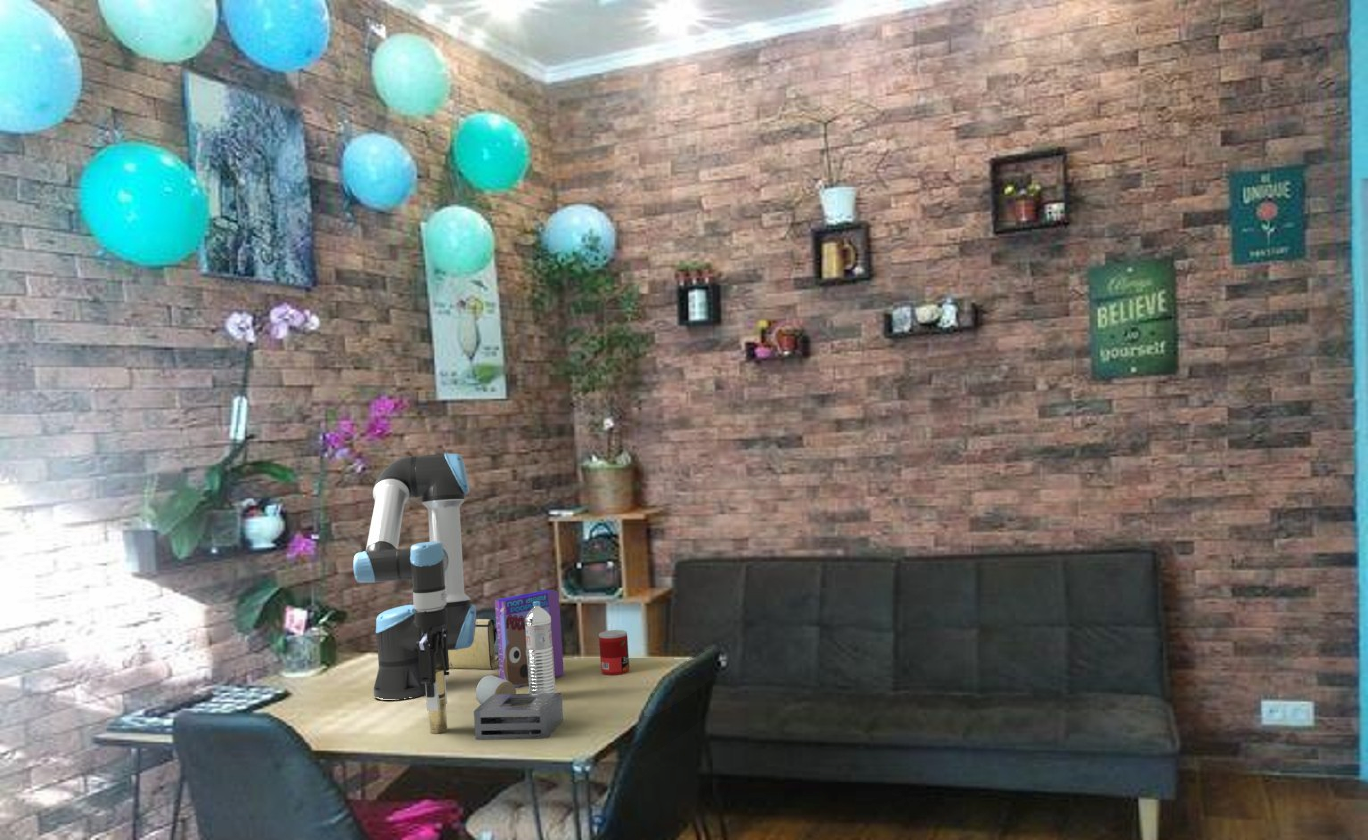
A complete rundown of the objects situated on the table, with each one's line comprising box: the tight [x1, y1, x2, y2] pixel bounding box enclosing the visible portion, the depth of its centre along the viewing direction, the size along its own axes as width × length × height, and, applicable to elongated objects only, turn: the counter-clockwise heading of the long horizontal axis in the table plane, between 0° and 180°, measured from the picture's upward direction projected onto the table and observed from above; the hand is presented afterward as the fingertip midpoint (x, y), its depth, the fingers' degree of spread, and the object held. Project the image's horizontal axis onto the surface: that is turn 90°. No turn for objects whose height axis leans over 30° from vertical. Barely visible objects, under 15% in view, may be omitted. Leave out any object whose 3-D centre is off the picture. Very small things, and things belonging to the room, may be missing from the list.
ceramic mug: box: [475, 674, 517, 706], centre depth 246 cm, size 11×8×8 cm
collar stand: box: [473, 692, 564, 740], centre depth 225 cm, size 17×13×6 cm
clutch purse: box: [448, 618, 499, 671], centre depth 290 cm, size 30×7×15 cm, turn 71°
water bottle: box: [524, 601, 557, 694], centre depth 251 cm, size 7×7×25 cm
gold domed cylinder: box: [428, 669, 448, 735], centre depth 228 cm, size 4×4×14 cm
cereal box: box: [494, 589, 565, 689], centre depth 268 cm, size 17×5×24 cm, turn 129°
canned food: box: [598, 629, 630, 676], centre depth 272 cm, size 8×8×11 cm
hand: (437, 706), depth 228 cm, fingers closed on gold domed cylinder, 4 cm apart
